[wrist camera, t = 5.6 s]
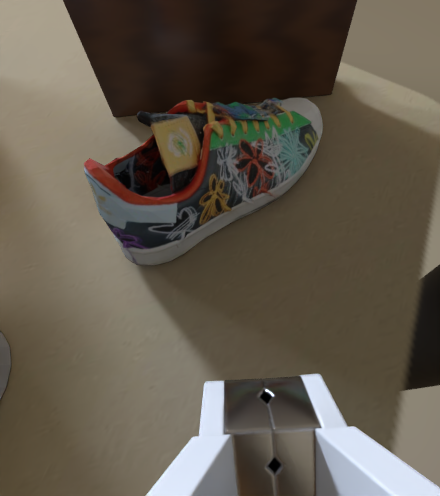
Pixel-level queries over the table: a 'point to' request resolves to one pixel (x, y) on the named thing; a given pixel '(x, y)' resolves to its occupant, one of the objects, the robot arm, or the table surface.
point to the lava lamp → (4, 363)
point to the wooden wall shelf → (210, 49)
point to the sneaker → (202, 172)
